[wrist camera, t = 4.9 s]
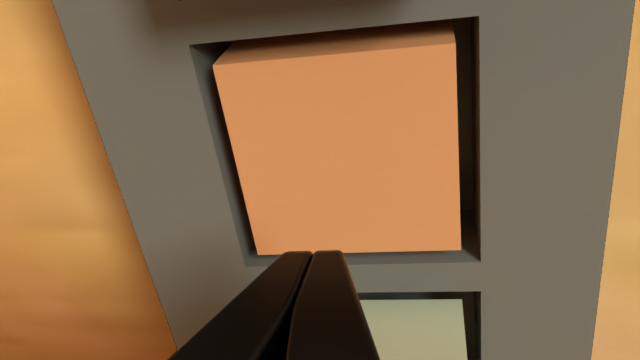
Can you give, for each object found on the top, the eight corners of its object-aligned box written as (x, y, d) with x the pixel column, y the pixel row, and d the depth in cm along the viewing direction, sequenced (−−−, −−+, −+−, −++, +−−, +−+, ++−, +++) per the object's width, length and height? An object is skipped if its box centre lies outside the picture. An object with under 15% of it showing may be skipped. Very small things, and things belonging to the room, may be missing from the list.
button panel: (556, 372, 17) (578, 458, 15) (236, 367, 19) (210, 442, 17) (629, -489, 9) (711, -615, 6) (26, -339, 10) (-89, -389, 8)
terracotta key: (456, 203, 14) (461, 249, 12) (274, 210, 14) (257, 255, 13) (451, 15, 11) (455, 43, 10) (238, 36, 12) (212, 65, 11)
